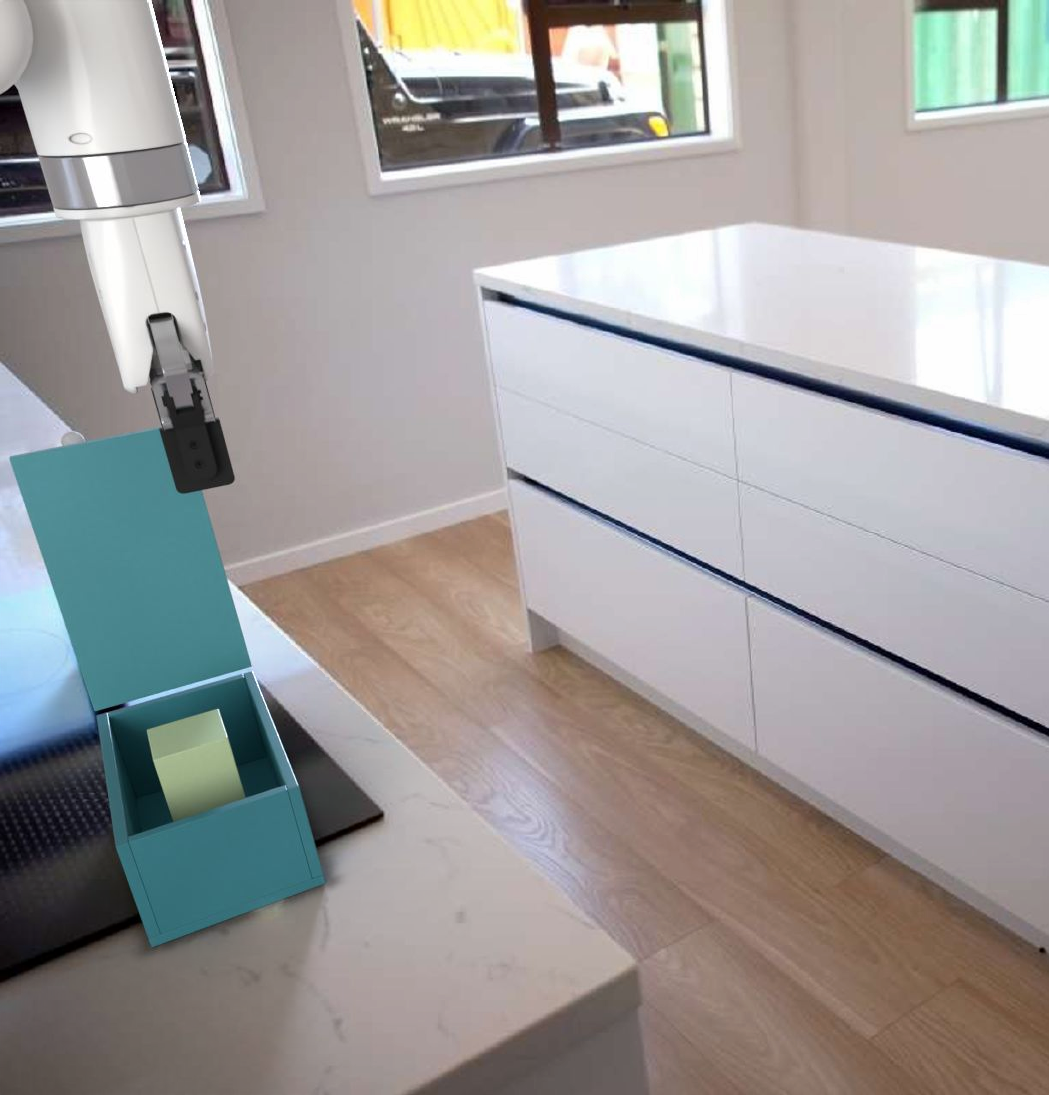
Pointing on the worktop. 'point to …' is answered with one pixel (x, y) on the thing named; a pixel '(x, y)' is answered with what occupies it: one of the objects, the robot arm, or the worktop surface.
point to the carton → (195, 764)
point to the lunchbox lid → (131, 567)
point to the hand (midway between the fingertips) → (200, 464)
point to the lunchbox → (207, 816)
